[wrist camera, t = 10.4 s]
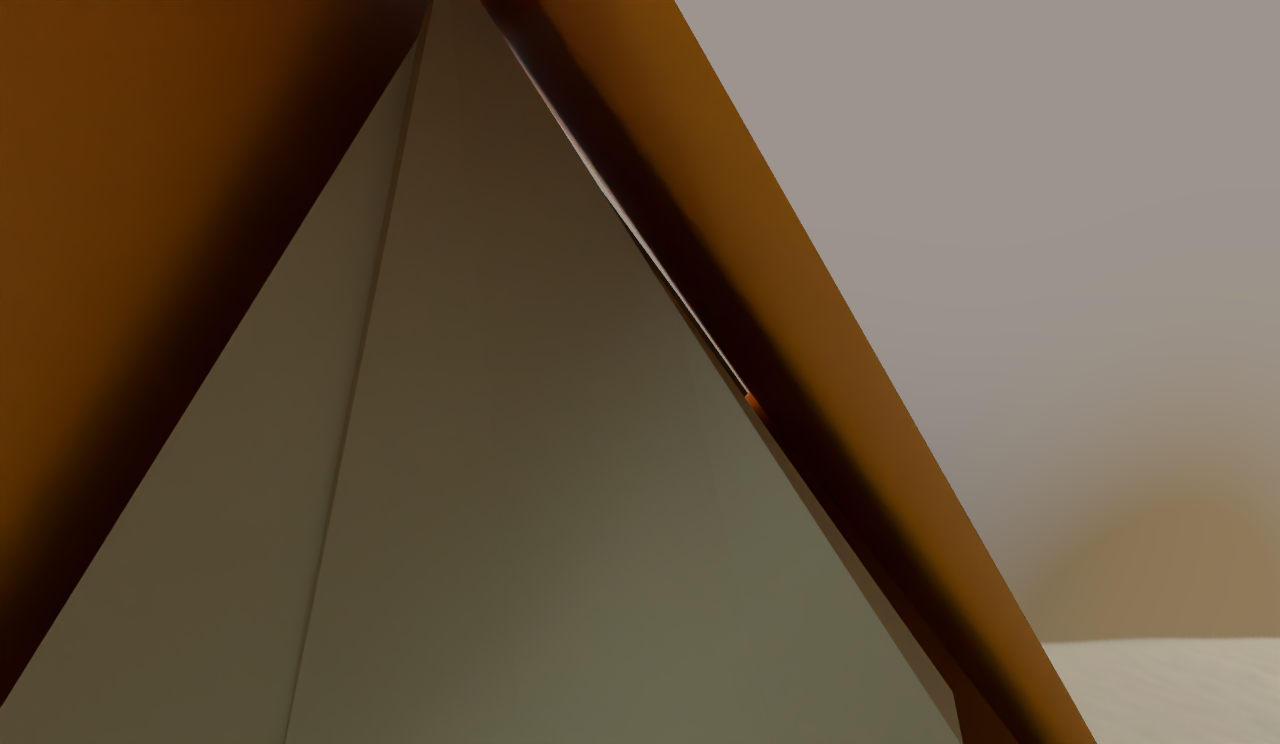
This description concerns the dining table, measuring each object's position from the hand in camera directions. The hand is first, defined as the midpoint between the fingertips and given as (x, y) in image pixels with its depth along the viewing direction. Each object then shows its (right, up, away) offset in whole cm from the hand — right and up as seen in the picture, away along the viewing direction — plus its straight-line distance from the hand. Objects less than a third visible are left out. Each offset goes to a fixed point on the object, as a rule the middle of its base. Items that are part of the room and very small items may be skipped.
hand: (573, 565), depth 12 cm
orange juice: (0, -12, 0) cm, 12 cm away
